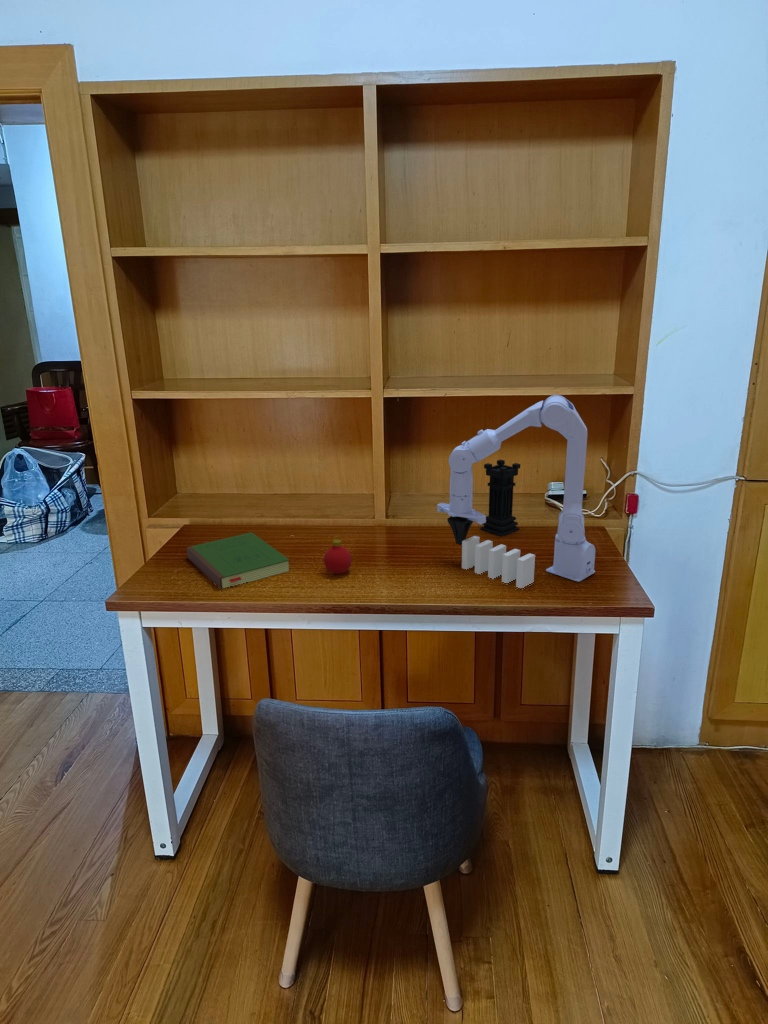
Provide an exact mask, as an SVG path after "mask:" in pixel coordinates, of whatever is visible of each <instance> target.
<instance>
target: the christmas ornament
mask: <svg viewBox="0 0 768 1024" xmlns="http://www.w3.org/2000/svg"><path fill="white" fill-rule="evenodd" d="M337 537H338V539H336V538H337ZM352 562H353V561H352V555H351V552H350V550H349V549H347V548H346V547H345V546H342V540H341V539H340V536H339V535H336V536H334V538H333V540H332V546H331V547H330V548H328V550H327V551H326V552H325V554H324V556H323V563H324V566H325V568H326V570H327V571H329V573H332V574H336V575H341V574H344V573H345V572H347V571H348V570H349V568H350V567H351V566H352Z"/></svg>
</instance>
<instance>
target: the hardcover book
mask: <svg viewBox="0 0 768 1024" xmlns="http://www.w3.org/2000/svg"><path fill="white" fill-rule="evenodd" d="M186 551H187V559H188V560H189V561H190V562H191V563H193V565H194V566H195V567H196V568H197V569H199V570H200V572H202V573H203V575H204V576H205V577H207V578H208V579H209V580H210V581H211V582H212V583H213V584H214V583H215V584H216V585H217V586H218V587H219V588H220V589H223V588H225V587H229V588H231V587H230V586H233V587H235V586H234V585H237V586H239V585H238V584H240V585H244V584H247V583H246V582H248V583H251V582H254V581H258V580H261V579H265V578H268V577H272V576H276V575H280V574H284V573H287V572H290V566H289V561H290V559H289V557H287V556H285V555H284V554H282V553H281V552H280V551H278V550H277V549H275V548H274V547H273V546H272V545H270V544H268V543H267V542H266V541H264V540H263V539H261V537H259V536H257V535H256V534H255V533H253V532H252V531H250V532H246V533H242V534H237V535H234V536H229V537H226V538H221V539H217V540H212V541H207V542H203V543H199V544H196V545H191V546H187V547H186ZM243 583H244V584H243ZM215 584H214V585H215ZM216 585H215V586H216ZM217 586H216V587H217ZM218 587H217V588H218ZM219 588H218V589H219ZM220 589H219V590H220ZM223 590H224V589H223Z"/></svg>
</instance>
